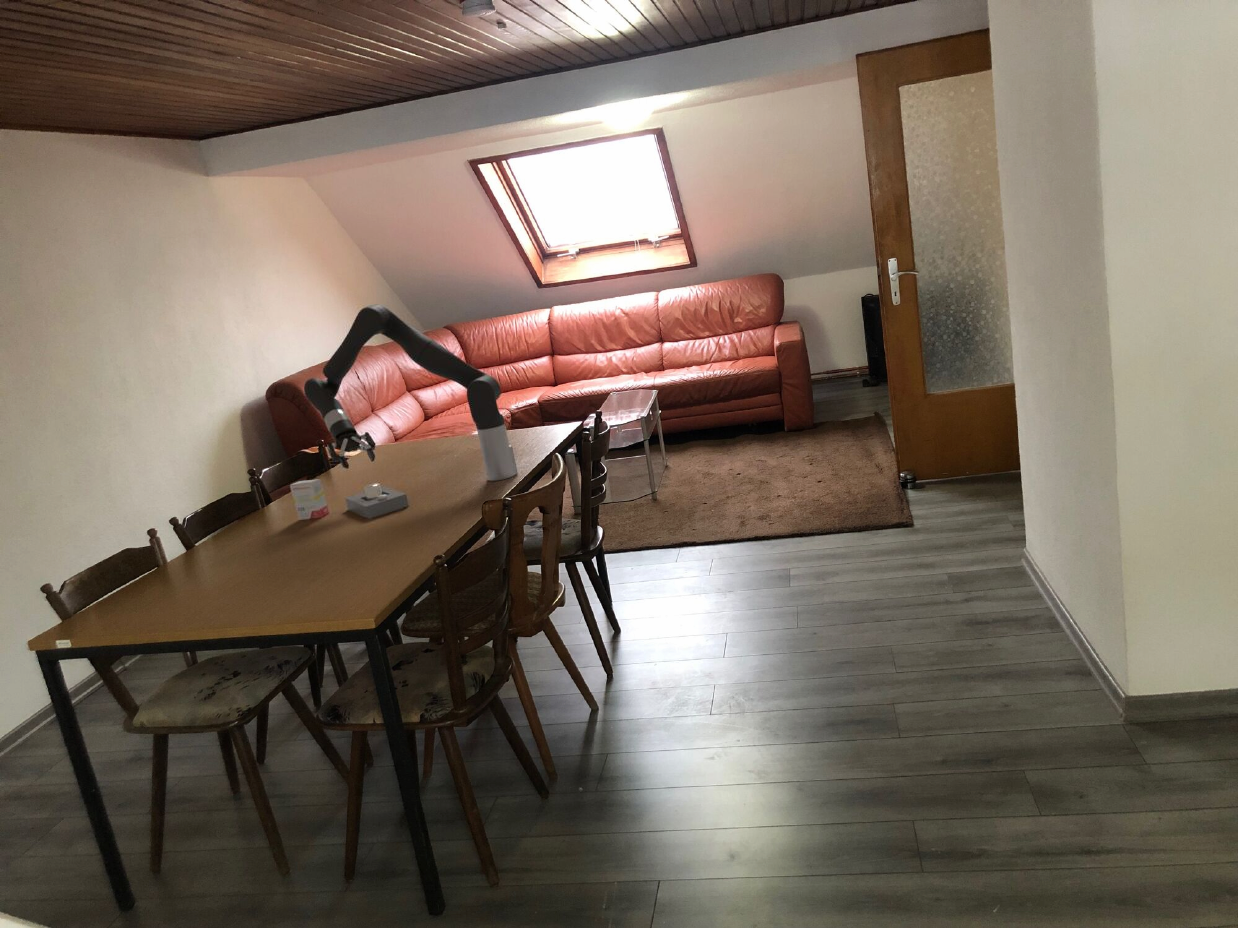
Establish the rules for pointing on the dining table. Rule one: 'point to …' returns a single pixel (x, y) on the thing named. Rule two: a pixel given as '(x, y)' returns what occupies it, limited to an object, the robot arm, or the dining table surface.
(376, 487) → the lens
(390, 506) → the grey slotted tray
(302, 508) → the ink box
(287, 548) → the dining table surface
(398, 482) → the dining table surface
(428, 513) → the dining table surface
